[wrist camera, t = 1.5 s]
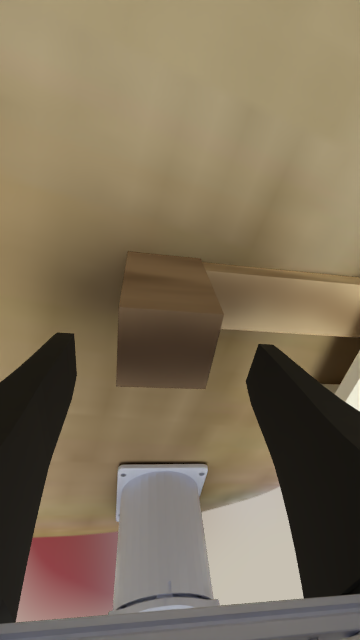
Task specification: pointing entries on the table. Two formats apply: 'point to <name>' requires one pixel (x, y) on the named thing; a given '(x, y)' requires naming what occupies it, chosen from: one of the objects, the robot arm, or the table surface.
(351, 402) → the shelf
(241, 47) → the table surface
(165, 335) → the brown wooden mallet
